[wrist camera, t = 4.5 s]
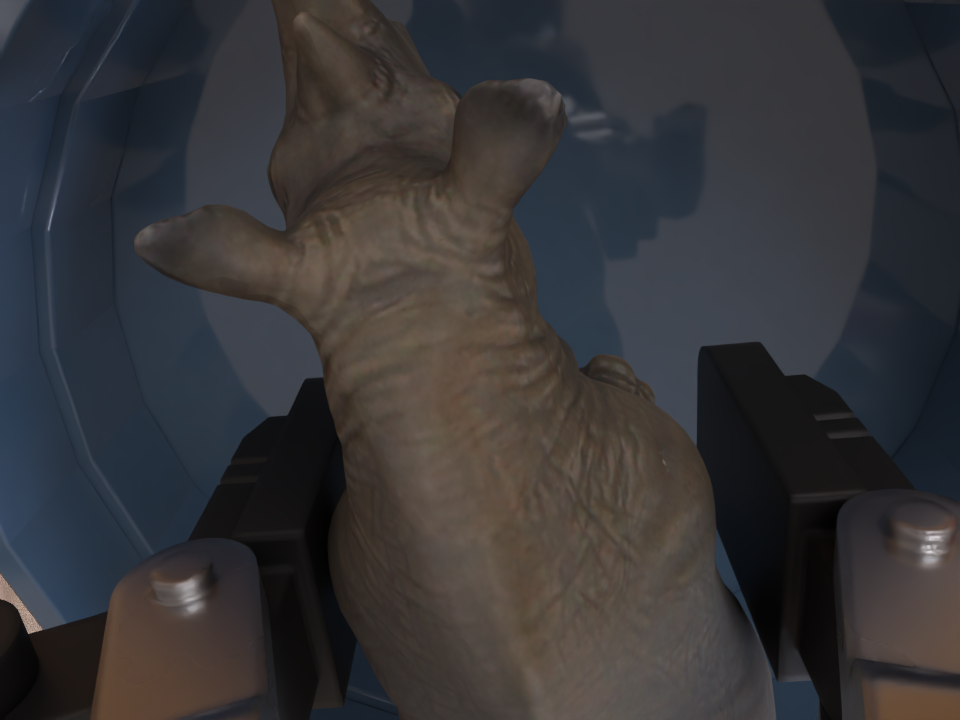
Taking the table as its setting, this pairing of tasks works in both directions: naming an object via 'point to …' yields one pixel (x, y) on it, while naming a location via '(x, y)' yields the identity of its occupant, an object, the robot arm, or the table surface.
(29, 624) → the table surface
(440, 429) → the rhino figurine
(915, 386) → the bowl
